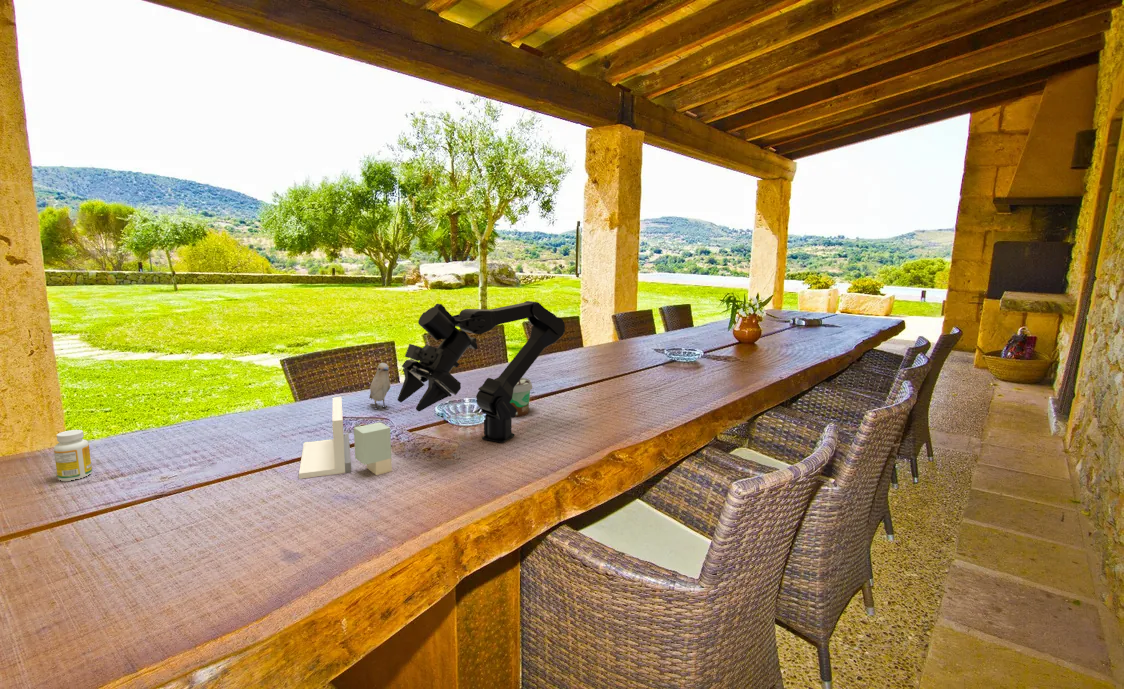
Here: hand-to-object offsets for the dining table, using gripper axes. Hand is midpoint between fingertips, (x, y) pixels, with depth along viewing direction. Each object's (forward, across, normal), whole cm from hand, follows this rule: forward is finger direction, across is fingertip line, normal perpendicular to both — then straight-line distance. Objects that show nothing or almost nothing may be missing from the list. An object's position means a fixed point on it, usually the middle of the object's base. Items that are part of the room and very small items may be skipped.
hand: (407, 405), depth 119 cm
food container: (-20, -13, +40) cm, 47 cm away
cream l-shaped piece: (+19, -13, -1) cm, 24 cm away
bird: (+1, -45, +18) cm, 48 cm away
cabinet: (+15, 0, +4) cm, 16 cm away
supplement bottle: (+50, -36, -32) cm, 69 cm away
